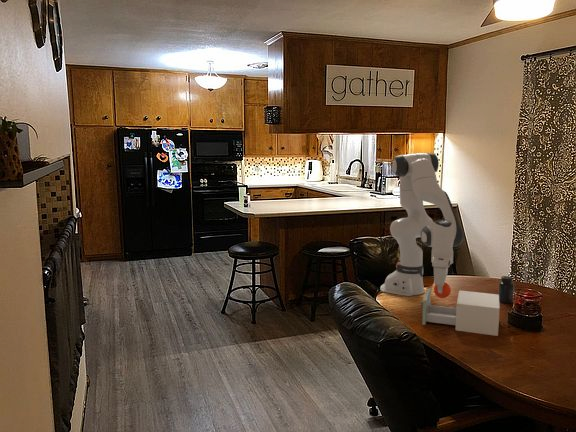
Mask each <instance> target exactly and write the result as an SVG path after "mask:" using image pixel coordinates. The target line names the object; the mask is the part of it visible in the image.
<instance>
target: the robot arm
mask: <svg viewBox="0 0 576 432" xmlns="http://www.w3.org/2000/svg"><path fill="white" fill-rule="evenodd" d="M391 166H392V167H391V168H392V171H393V175H395V176H397V177H399V179H400V180H399V200H400V201H399V203H400V206H401V208H402V209H404V210H405V211H406V213H407V217H401V218H398V219H395V220H393V221H392V222H391V224H390V226H389V231H390V232H389V233H390V235H391V236H392V238H393V239H395V240H396V242H397V244H398V246H399V252H400V255H399V260H400V261H398V262H397V263H396V265H395V267H396V268H395V270H394V271H393V272H392V273H389V274H388V275H387V276H386V278H385V280H384V283H383V284H382V285H380V287H379V288H380V289H379V290H380V292H382V293H388V294H393V295H400V296H404V297H411V296H418V295H422V294H425V293H426V292H425V291H426V289H425V287H424V281H423V280H424V279H423V277H424V276H423V275H424V264H423V259H424V258H423V256H424V255H423V253H424V252H423V249H422V247H420V246H419V245H418V244H417V238H420V242H421V243H422V244H423V245H424V246H426V247H430V248H431V260H430V261H431V263H432V264H431V266H432V267H433V283H434V286H435V285H437V286H438V293H442V292H443V285H444V283H446V279H447V277H448V272H449V268H450V265H452V264H454V249H453V248H458V247H459V246H461V244H462V243H463V242H464V239H465V232H464V229H463V226H462V225H461V224H460V222H459V220H458V217H457V215H456V211H455V209H454V206H453V204H452V202H451V198H450V196H449V194H448V193H447V192H446V191H445V190H444V189H442V188H441V186H440V184H439V182H438V179H437V175H436V173H437V171H438V170H439V167H440V166H439V157H438V156H437V155H436V154H435V153H432V152H426V153H425V152H424V153H423V152H414V153H408V154H400V155H396V156H395V157H394V158H393V159H392V165H391ZM424 202H425V203H429V204H432V205H434V206H435V207H438V209H440V210H441V213H442V216H443V218H444V219H437V220H434V221H433V219H432V218H431V217H430V216H429V215H428V214H427V212H426V209H425V205H424Z"/></svg>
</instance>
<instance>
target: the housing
mask: <svg viewBox="0 0 576 432" xmlns="http://www.w3.org/2000/svg"><path fill="white" fill-rule="evenodd" d="M455 308H456V325H455V331H458V332H465V333H473V334H479V335H487V336H488V335H489V336H494V337H495V336H497V337H499V321H500V301H499V295H498V293H497V294H496V293H487V292H477V291H467V290H459V291H458V295H457V300H456V307H455Z"/></svg>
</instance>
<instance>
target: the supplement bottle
mask: <svg viewBox="0 0 576 432" xmlns="http://www.w3.org/2000/svg"><path fill="white" fill-rule="evenodd" d="M497 291H498V293H497V294H498V295H499V303H501V304H502V303H503V304H513V303H514V301H513V294H514V295H515V284H514V282H513V276H509V275H504V276H501V278H500V282H499V283H498V290H497ZM512 302H513V303H512Z"/></svg>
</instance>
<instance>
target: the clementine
mask: <svg viewBox="0 0 576 432" xmlns="http://www.w3.org/2000/svg"><path fill="white" fill-rule="evenodd" d="M433 285H434V287H433ZM433 285H432V287H433V293H434V295H435V296H436V297H438V298H440V299H446V298H447V297H449V296H450V295H451V292H452V291H451V290H452V289H451V287H450V285H449V284H448V283H447V282H445V283H444V285H443V292H442V293H438V286H437V285H435V284H433Z"/></svg>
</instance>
